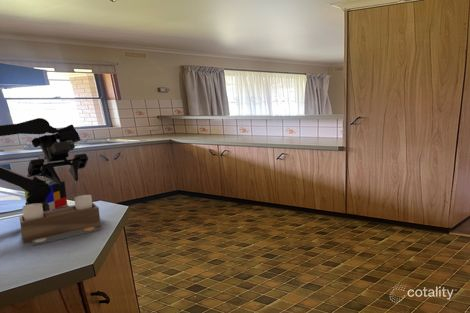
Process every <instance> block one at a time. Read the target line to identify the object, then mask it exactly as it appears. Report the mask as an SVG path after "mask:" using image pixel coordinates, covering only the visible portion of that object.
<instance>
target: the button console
mask: <svg viewBox="0 0 470 313" xmlns="http://www.w3.org/2000/svg"><path fill="white" fill-rule="evenodd" d="M92 207H93V208H88V209H83V210H78V211H76V208H75V205H71V206H66V207H59V208H56V209H54V210H49V211H44V212H43V215H44V217H42V218H37V219H32V220H27V221H24V214H23V215H19V216H18V217H19V224H20V230H21V231H20V232H21V236H22V242H23V244H25V243H30V242H31V243H32V240H35V239H39V238H43V237H48V236H52V235H56V234H61V233H65V232H70V231H74V230H78V229H83V228H87V227H91V226H95V227H96V228H97V227H99V226H101V216H100V207H98V206H97V205H96V204H95V203H94V202H92Z"/></svg>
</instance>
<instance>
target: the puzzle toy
mask: <svg viewBox="0 0 470 313" xmlns="http://www.w3.org/2000/svg"><path fill="white" fill-rule="evenodd" d="M46 181H47V182H48V183H49V185H50V187H51V192H50V194H49V195H48V196H47V197H46V198H45V200H47V201H48V204H49V209H50V210H53V209H54V210H55V209H60V208H63V207H64V206H67V205H68V200H67V199H68V198H67V192H66V182H65V181H64V180H63V181H62V180H60V181H61V184H60V185H59V184H57V183H56V182H54V181H52V180H51V181H49V180H46ZM27 194H28V192H27V191H25V190H24V195H25V196H24V197H25V199H26V195H27ZM26 202H27V201H26V200H25V203H26Z"/></svg>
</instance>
